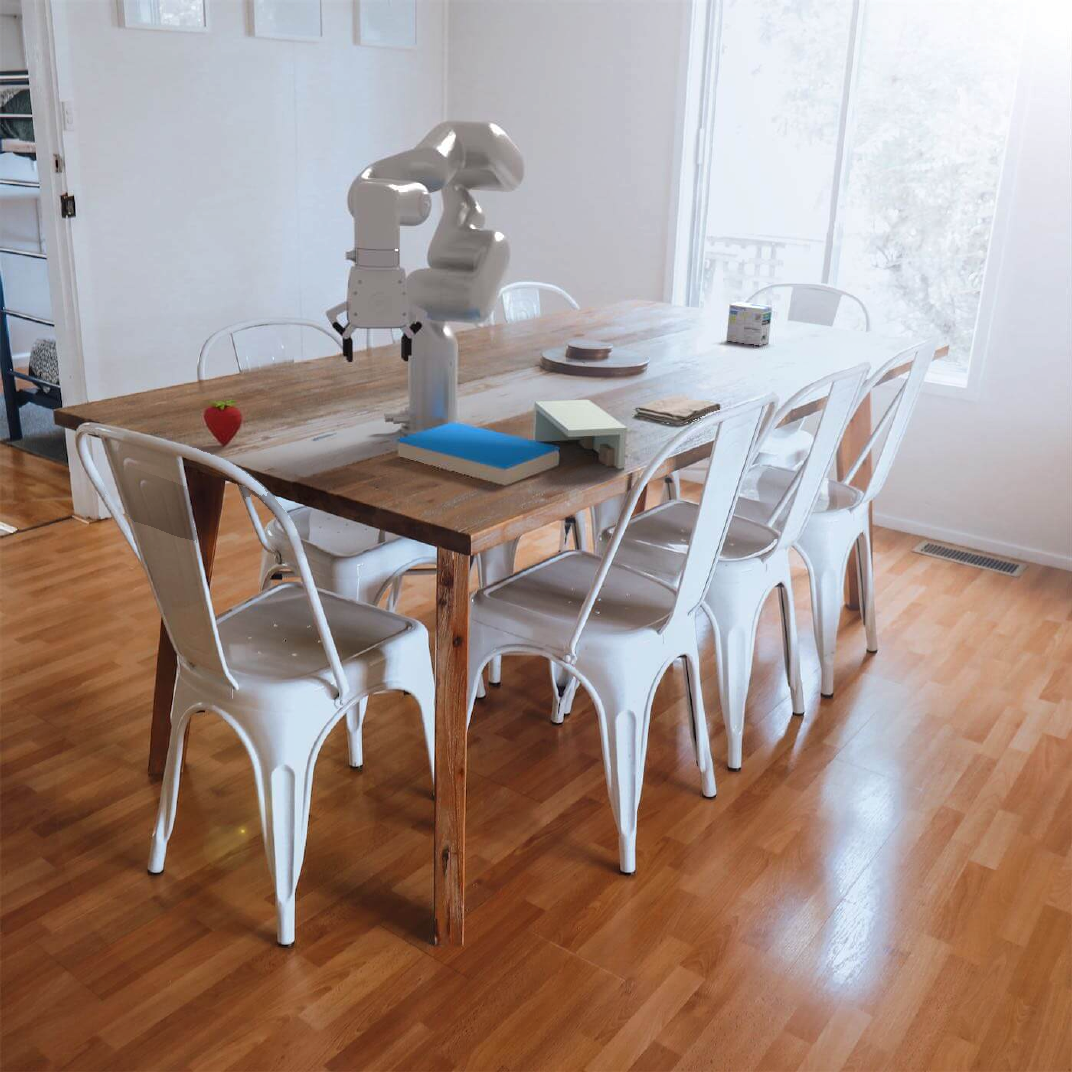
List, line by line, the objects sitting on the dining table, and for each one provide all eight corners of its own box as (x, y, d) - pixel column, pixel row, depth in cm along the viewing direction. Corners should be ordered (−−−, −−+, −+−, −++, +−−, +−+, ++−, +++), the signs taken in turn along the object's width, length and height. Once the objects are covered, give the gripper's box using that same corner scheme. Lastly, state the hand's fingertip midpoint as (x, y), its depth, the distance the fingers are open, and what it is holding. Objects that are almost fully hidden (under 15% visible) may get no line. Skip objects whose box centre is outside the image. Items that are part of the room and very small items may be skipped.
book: (506, 467, 192) (395, 437, 205) (504, 491, 194) (395, 460, 207) (561, 445, 205) (454, 419, 218) (560, 468, 207) (454, 440, 220)
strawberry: (219, 438, 214) (216, 386, 210) (251, 444, 211) (248, 392, 207) (197, 445, 209) (194, 392, 205) (230, 452, 206) (226, 398, 202)
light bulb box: (769, 343, 325) (773, 305, 321) (760, 346, 319) (764, 308, 315) (734, 338, 330) (738, 301, 326) (725, 341, 324) (729, 303, 321)
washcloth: (631, 418, 241) (632, 404, 240) (674, 404, 254) (675, 390, 253) (679, 429, 234) (680, 415, 233) (721, 413, 248) (722, 400, 247)
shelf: (566, 471, 202) (569, 430, 199) (533, 440, 221) (534, 401, 218) (624, 468, 205) (627, 427, 203) (586, 437, 224) (588, 399, 221)
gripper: (328, 261, 183) (329, 365, 189) (432, 262, 189) (431, 364, 194) (322, 256, 190) (324, 357, 196) (423, 257, 195) (422, 355, 201)
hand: (377, 360), depth 195 cm, fingers open, 9 cm apart
